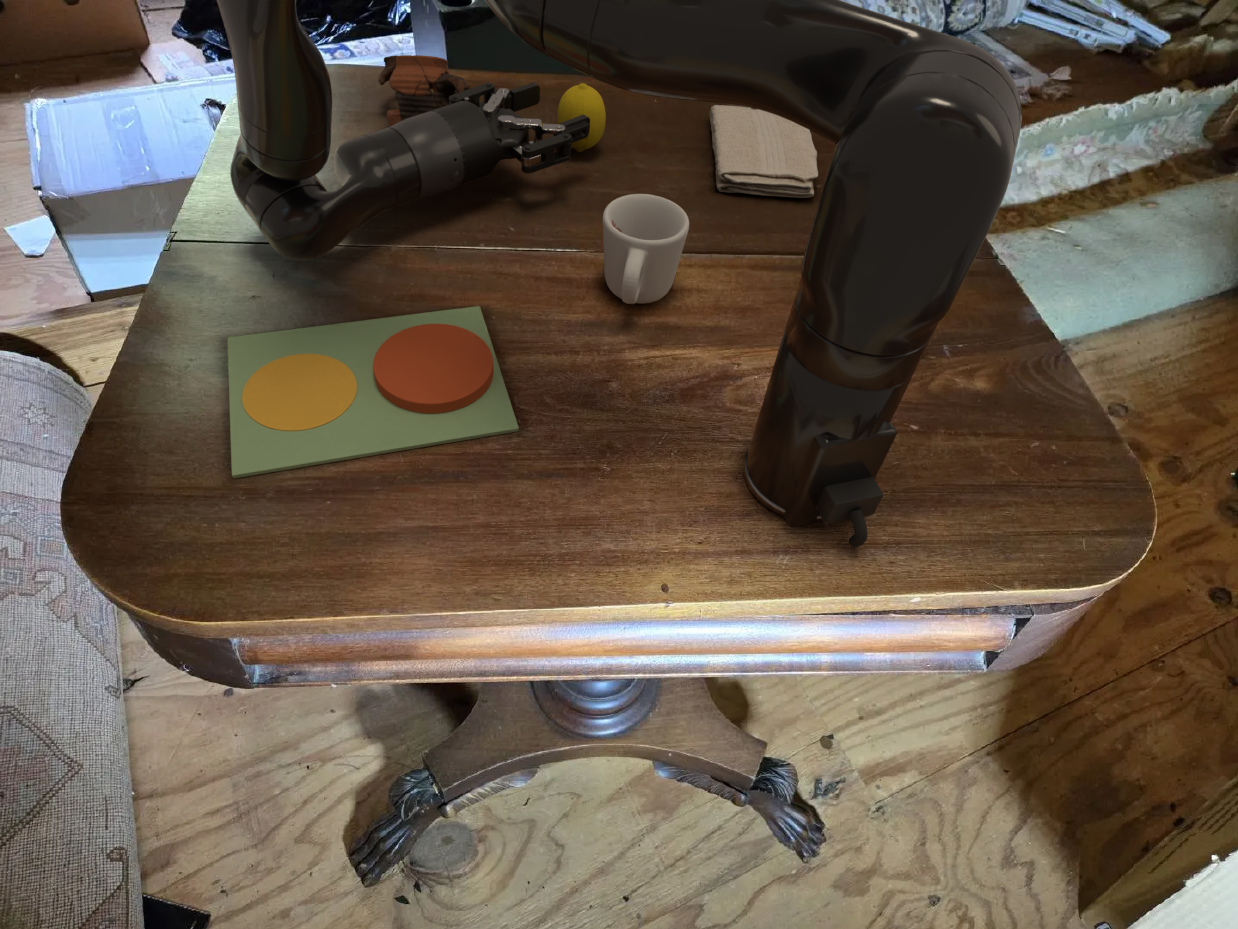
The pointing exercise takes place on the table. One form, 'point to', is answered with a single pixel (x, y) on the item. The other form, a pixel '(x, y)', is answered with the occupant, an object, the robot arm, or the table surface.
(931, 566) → the table surface
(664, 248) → the cup
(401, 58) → the pottery mug
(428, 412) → the placemat
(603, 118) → the lemon
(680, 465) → the table surface
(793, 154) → the washcloth
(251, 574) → the table surface
